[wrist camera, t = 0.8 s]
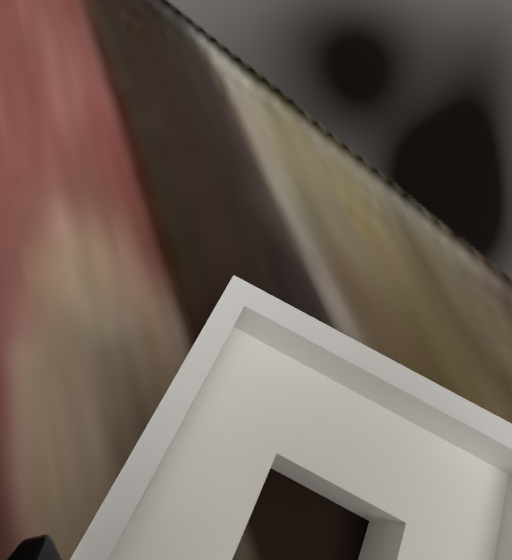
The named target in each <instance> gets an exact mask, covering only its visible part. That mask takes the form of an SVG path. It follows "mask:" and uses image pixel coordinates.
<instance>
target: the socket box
mask: <svg viewBox="0 0 512 560" xmlns="http://www.w3.org/2000/svg"><path fill="white" fill-rule="evenodd" d="M270 468H272V469H273V470H275V471H277V472H279V473H281V474H283V475H285V476H286V477H288V478H290V479H292V480H294V481H296V482H298V483H299V484H301V485H303V486H305V487H307V488H309V489H311V490H312V491H314V492H316V493H318V494H320V495H322V496H324V497H325V498H327V499H329V500H331V501H333V502H335V503H337V504H338V505H340V506H342V507H344V508H346V509H348V510H349V511H351V512H353V513H355V514H357V515H359V516H361V517H362V518H364V519H366V520H368V521H369V524H368V527H367V531H366V534H365V538H364V541H363V544H362V548H361V551H360V555H359V558H358V560H512V424H511V423H509V422H507V421H505V420H504V419H502V418H500V417H498V416H496V415H494V414H492V413H490V412H489V411H487V410H485V409H483V408H481V407H479V406H477V405H475V404H474V403H472V402H470V401H468V400H466V399H464V398H462V397H461V396H459V395H457V394H455V393H453V392H451V391H449V390H447V389H446V388H444V387H442V386H440V385H438V384H436V383H434V382H433V381H431V380H429V379H427V378H425V377H423V376H421V375H419V374H418V373H416V372H414V371H412V370H410V369H408V368H406V367H404V366H403V365H401V364H399V363H397V362H395V361H393V360H391V359H390V358H388V357H386V356H384V355H382V354H380V353H378V352H376V351H375V350H373V349H371V348H369V347H367V346H365V345H363V344H362V343H360V342H358V341H356V340H354V339H352V338H350V337H348V336H347V335H345V334H343V333H341V332H339V331H337V330H335V329H333V328H332V327H330V326H328V325H326V324H324V323H322V322H320V321H319V320H317V319H315V318H313V317H311V316H309V315H307V314H305V313H304V312H302V311H300V310H298V309H296V308H294V307H292V306H291V305H289V304H287V303H285V302H283V301H281V300H279V299H277V298H276V297H274V296H272V295H270V294H268V293H266V292H264V291H263V290H261V289H259V288H257V287H255V286H253V285H251V284H249V283H248V282H246V281H244V280H242V279H240V278H238V277H236V276H234V275H233V277H232V279H231V280H230V282H229V284H228V286H227V287H226V289H225V291H224V293H223V294H222V296H221V298H220V300H219V301H218V303H217V305H216V307H215V308H214V310H213V312H212V314H211V315H210V317H209V319H208V320H207V322H206V324H205V326H204V327H203V329H202V331H201V333H200V334H199V336H198V338H197V340H196V341H195V343H194V345H193V347H192V348H191V350H190V352H189V354H188V355H187V357H186V359H185V360H184V362H183V364H182V366H181V367H180V369H179V371H178V373H177V374H176V376H175V378H174V380H173V381H172V383H171V385H170V387H169V388H168V390H167V392H166V394H165V395H164V397H163V399H162V400H161V402H160V404H159V406H158V407H157V409H156V411H155V413H154V414H153V416H152V418H151V420H150V421H149V423H148V425H147V427H146V428H145V430H144V432H143V434H142V435H141V437H140V439H139V440H138V442H137V444H136V446H135V447H134V449H133V451H132V453H131V454H130V456H129V458H128V460H127V461H126V463H125V465H124V467H123V468H122V470H121V472H120V474H119V475H118V477H117V479H116V480H115V482H114V484H113V486H112V487H111V489H110V491H109V493H108V494H107V496H106V498H105V500H104V501H103V503H102V505H101V507H100V508H99V510H98V512H97V514H96V515H95V517H94V519H93V520H92V522H91V524H90V526H89V527H88V529H87V531H86V533H85V534H84V536H83V538H82V540H81V541H80V543H79V545H78V547H77V548H76V550H75V552H74V554H73V555H72V557H71V559H70V560H232V559H233V556H234V554H235V552H236V549H237V547H238V544H239V542H240V540H241V537H242V535H243V532H244V530H245V528H246V525H247V523H248V520H249V518H250V516H251V513H252V511H253V509H254V506H255V504H256V501H257V499H258V497H259V494H260V492H261V489H262V487H263V485H264V482H265V480H266V477H267V475H268V473H269V470H270Z"/></svg>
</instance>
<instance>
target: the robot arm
mask: <svg viewBox="0 0 512 560" xmlns="http://www.w3.org/2000/svg"><path fill="white" fill-rule="evenodd" d="M7 560H62V559H61V557H60V555H59V553H58V551H57V548H56V546H55V544H54V542H53V540H52V538H51V537H50V536H49V535H41V536H36V537H32V538H28V539H25V540H24V541H22V542H21V543H20V544H19V545H18V547H17V548H16V549H15V550H14V552H13V553H12V554H11V555H10V557H9V558H8V559H7Z"/></svg>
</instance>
